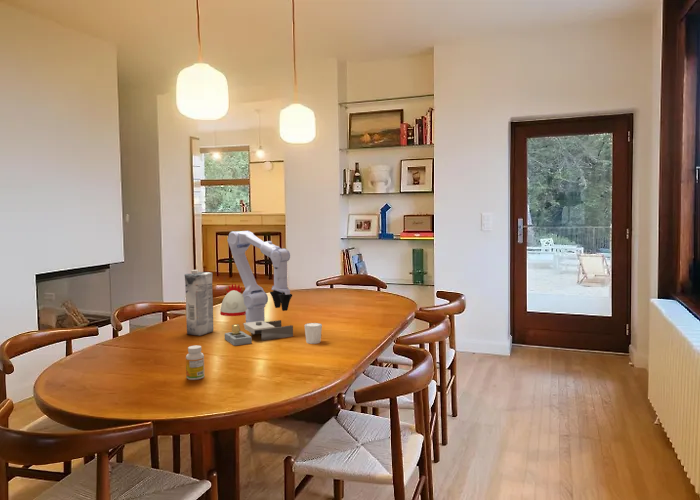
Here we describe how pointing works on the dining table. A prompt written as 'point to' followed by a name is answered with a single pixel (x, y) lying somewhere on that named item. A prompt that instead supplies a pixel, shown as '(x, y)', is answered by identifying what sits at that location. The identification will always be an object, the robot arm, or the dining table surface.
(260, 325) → the lid
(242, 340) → the socket board
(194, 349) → the supplement bottle
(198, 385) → the dining table surface
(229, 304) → the kitchen timer
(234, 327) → the pin
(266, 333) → the housing
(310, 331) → the white cup
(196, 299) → the juice carton
